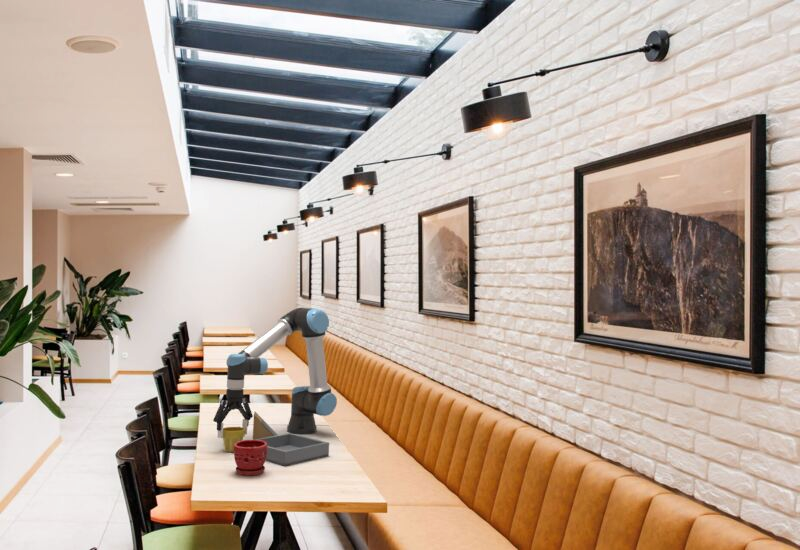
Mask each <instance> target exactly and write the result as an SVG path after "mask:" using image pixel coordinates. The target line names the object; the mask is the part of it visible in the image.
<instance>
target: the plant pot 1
mask: <svg viewBox="0 0 800 550" xmlns="http://www.w3.org/2000/svg"><path fill="white" fill-rule="evenodd" d="M245 435H246V434H245V428H242V426H226V427H223V438H222V440H223V446H224V447H223V448H224V451H225V452H227V453H228V452H229V453H234V444H235V443H236V442H239V441H243V439H244V437H245Z"/></svg>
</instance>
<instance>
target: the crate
mask: <svg viewBox="0 0 800 550" xmlns="http://www.w3.org/2000/svg"><path fill="white" fill-rule="evenodd" d="M255 440H261V441H265V442H266V443H267V456H266V461H265V462H268V461H269V463H271V462H272V464H274V465H275V464H276V465H278V466H283V467H289V466H291V465H297V464H300V463H304V462H309V461H315V460H318V458H319V459H323V458H327V457H329V455H330V453H329V452H330V442H328V441H325V440H324V441H323V440H320V439H316V438H311V437H307V436H303V435H300V434H296V433H290V432H288V433H287V432H286V433H283V434H277V435H276V436H271V437H266V438H260V439H255ZM254 447H256V446H254ZM248 448H250V447H248ZM263 456H264V452H263ZM322 457H323V458H322Z"/></svg>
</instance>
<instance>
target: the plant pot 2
mask: <svg viewBox="0 0 800 550" xmlns="http://www.w3.org/2000/svg"><path fill="white" fill-rule="evenodd" d="M254 446H256V447H254ZM248 447H250V448H248ZM263 452H264V456H263ZM233 455H234V457H233V458H234V461H235V465H236V467H235V471H236V472H237V474H239V475H243V476H257V475H260V474H262V473H264V472H265V470H266V467H265V463H266V461H265V460H266V456H267V443H266V442H265V441H261V440H253V439H245V440H242V441H239V442H236V443H235V444H234V452H233Z"/></svg>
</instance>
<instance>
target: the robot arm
mask: <svg viewBox="0 0 800 550" xmlns="http://www.w3.org/2000/svg"><path fill="white" fill-rule="evenodd" d="M329 325H330V319H329V317H328V314H327V313H326V312H325V311H324V310H322V309H319V308H311V307H310V308H309V307H297V308H294V309H293V310H291V311H289V312H287V313H286V314H284V315H283V316H282V317H280V318H279V319H277V323H276V324H274V325H273V326H271V327H270V328H269V329H268V330H267V331H265V332H264V333H263V334H261V336H259V337H257V338H256V339H255V340H254V341H253V342H251V343H250V344H249V345H246V347H244V348H243V349H242V350H241V351H239V352H238V353H231V354H230V355H228V357H227V359H226V366H227V374H226V378H227V379H226V388H227V389H226V391H225V392H226V393H225V397H226V400H224V399H223V400H222V399H221V400H220V402H219V403H220V404H219V405H218V408H217V410H216V413H215V415H214V418H213V420H212V421H213V422H215V423H216V431H217V438H219V439H223V428H224V420H225V419H226V417H227V416H228V414H229V413H230V412H231V411H232V410H233V411H235V410H238V412H240V414H241V415H242V417H243V418H242V425H241V427H242V428H245V435H248V427H249V421H251V419H252V418H254V414H253V412H252V410H251V408H250V405H249V404H250V403H249V398H247V397H244V392H245V391H244V388H245V376H247V375H261V374H265V373H266V372H267V370H268V368H269V367H268V366H269V363H268V360H267V359H266V358H265V357H261V356H262V355H263V354H265V353H266V352H267V351H269V350H270V349H271V348H272V347H273V346H275V345H276V344H277V343H279V342H280V341H281V340H283V339H284V338H285V337H286V336H291V335H292V334H293V333H295V332H299V331H300V332H301V337H302V338H303V339H304V340H305V345H306V347H305V348H306V354H307V355H306V358H307V365H308V366H307V367H308V375H309V385H304V386H303V385H300V386H295V387H293V388H292V389H291V390H292V391H291V406H290V408H291V410H290V411H291V412H290V413H291V414H290V417H289V420H288V424H287V426H286V431H287V432H288V433H291V434H295V435H305V434H306V435H307V434H308V435H309V434H314V433H317V425H316V421H315V417H314V416H315V415H318V416H323V417H327V416H329V415H331V414H332V413H333V412H334V411H335V409H336V407H337V404H338V399H337V397H336V395H335V394H334V393H333V392H332V387H331V386H330V384H328V378H327V377H328V376H327V368H326V367H327V365H326V358H325V357H326V356H325V348H324V347H325V346H324V337H325V336H326V332H327V330H328V328H329Z"/></svg>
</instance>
